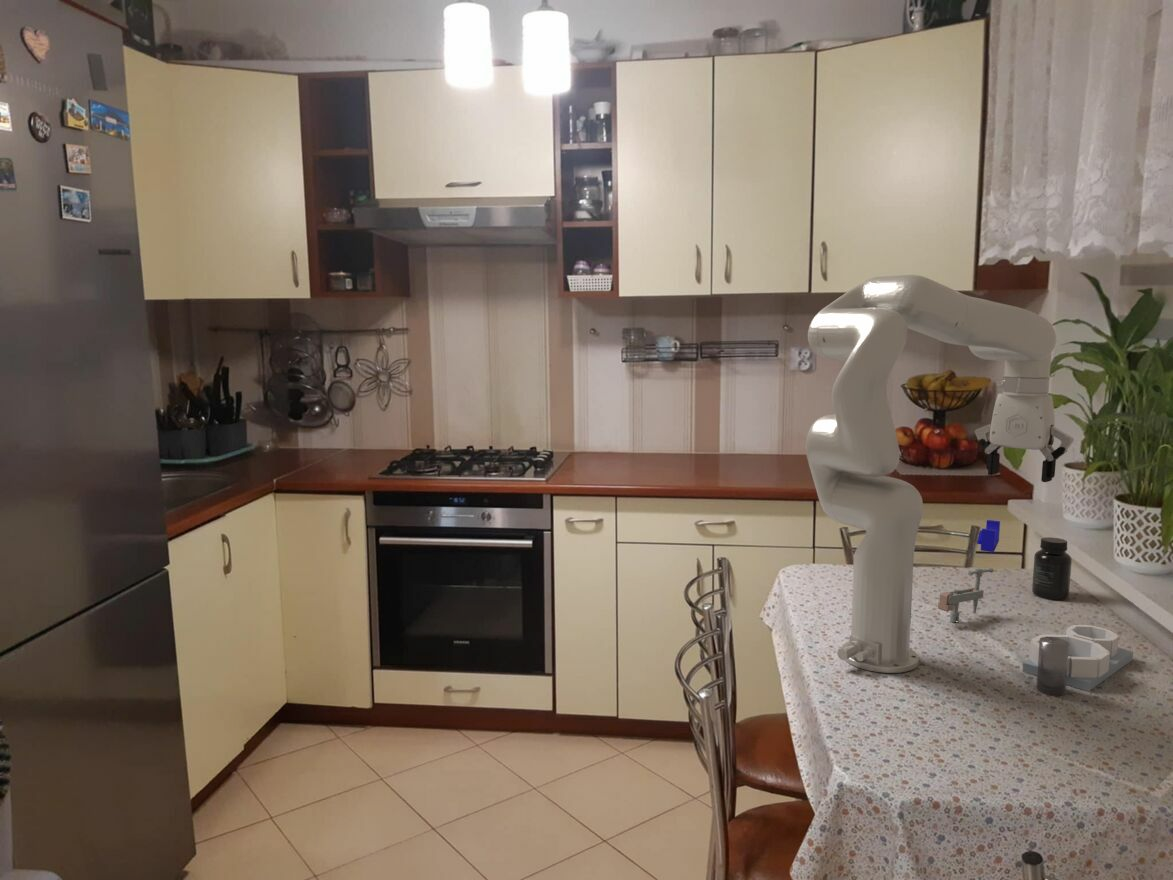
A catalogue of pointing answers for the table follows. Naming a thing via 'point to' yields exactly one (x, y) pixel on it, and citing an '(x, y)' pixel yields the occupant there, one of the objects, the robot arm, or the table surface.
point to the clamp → (962, 596)
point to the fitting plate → (1085, 655)
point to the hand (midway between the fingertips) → (1019, 477)
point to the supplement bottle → (1052, 570)
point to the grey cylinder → (1052, 666)
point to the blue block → (989, 536)
